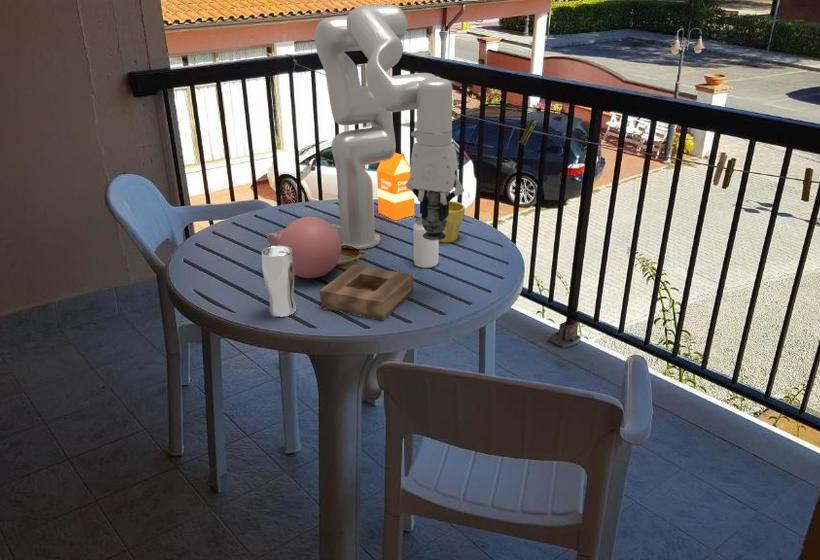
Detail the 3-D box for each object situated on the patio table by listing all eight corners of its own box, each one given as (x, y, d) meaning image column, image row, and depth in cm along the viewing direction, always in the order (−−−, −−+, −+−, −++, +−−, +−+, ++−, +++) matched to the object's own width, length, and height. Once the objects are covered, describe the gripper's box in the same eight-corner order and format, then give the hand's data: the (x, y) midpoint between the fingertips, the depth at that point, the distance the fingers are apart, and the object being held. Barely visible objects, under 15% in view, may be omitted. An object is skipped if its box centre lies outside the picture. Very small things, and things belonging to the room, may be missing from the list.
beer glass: (284, 322, 151) (277, 259, 145) (261, 314, 155) (253, 253, 149) (304, 309, 157) (299, 248, 151) (281, 302, 160) (275, 242, 154)
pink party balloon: (288, 258, 185) (282, 203, 179) (353, 268, 178) (350, 212, 171) (254, 279, 172) (247, 222, 166) (323, 292, 165) (318, 232, 158)
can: (442, 261, 181) (442, 218, 176) (432, 270, 176) (432, 226, 171) (419, 257, 184) (419, 215, 179) (409, 266, 178) (408, 222, 173)
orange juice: (397, 209, 221) (396, 147, 213) (414, 216, 214) (413, 153, 206) (378, 214, 216) (375, 152, 208) (394, 221, 210) (393, 157, 202)
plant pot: (465, 233, 200) (466, 200, 196) (462, 246, 191) (462, 212, 187) (430, 231, 202) (430, 199, 198) (425, 244, 193) (425, 211, 188)
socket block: (321, 308, 157) (319, 290, 155) (354, 281, 170) (353, 264, 169) (383, 320, 151) (382, 302, 149) (413, 291, 164) (413, 274, 162)
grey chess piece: (445, 241, 155) (445, 190, 150) (419, 240, 156) (419, 189, 151) (448, 232, 160) (449, 182, 155) (423, 230, 161) (423, 181, 156)
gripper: (392, 138, 148) (394, 219, 156) (465, 145, 142) (463, 228, 150) (406, 131, 154) (407, 208, 162) (476, 137, 148) (474, 217, 156)
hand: (434, 217), depth 156 cm, fingers closed on grey chess piece, 3 cm apart
